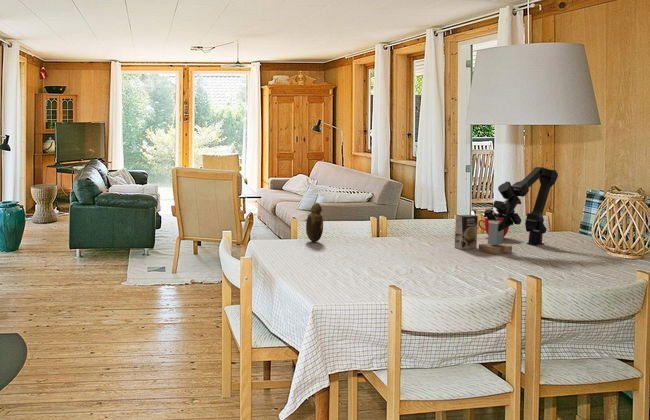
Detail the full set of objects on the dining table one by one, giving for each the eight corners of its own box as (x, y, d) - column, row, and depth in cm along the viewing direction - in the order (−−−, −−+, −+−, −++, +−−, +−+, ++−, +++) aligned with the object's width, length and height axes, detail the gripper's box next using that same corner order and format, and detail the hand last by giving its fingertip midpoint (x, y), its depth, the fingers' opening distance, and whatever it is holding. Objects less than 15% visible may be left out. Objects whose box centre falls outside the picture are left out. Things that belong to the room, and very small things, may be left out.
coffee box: (462, 249, 363) (463, 216, 361) (454, 247, 368) (455, 215, 366) (477, 248, 367) (478, 215, 365) (468, 246, 373) (470, 214, 370)
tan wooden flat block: (495, 248, 367) (495, 242, 366) (511, 252, 357) (512, 246, 357) (478, 250, 361) (478, 244, 360) (495, 254, 352) (495, 248, 351)
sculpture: (323, 244, 375) (324, 204, 372) (307, 244, 374) (307, 204, 371) (321, 239, 388) (321, 201, 385) (305, 239, 387) (305, 201, 384)
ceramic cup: (483, 234, 408) (483, 216, 406) (512, 237, 398) (513, 219, 397) (472, 237, 397) (473, 219, 396) (503, 241, 388) (503, 222, 386)
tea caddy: (494, 242, 362) (495, 219, 361) (503, 243, 358) (504, 220, 357) (487, 243, 359) (488, 220, 357) (496, 244, 355) (497, 221, 353)
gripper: (487, 192, 365) (471, 217, 360) (518, 196, 351) (503, 221, 345) (496, 207, 371) (481, 231, 366) (528, 211, 357) (512, 236, 351)
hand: (494, 230), depth 357 cm, fingers closed on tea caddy, 5 cm apart
